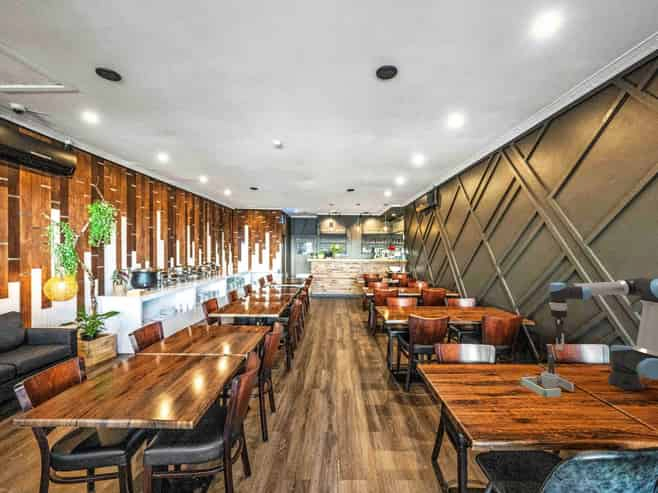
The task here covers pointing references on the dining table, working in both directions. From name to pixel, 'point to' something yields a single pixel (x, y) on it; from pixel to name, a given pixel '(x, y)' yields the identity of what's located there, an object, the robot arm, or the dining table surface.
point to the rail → (539, 378)
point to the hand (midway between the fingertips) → (560, 346)
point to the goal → (531, 384)
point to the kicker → (551, 370)
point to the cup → (550, 381)
